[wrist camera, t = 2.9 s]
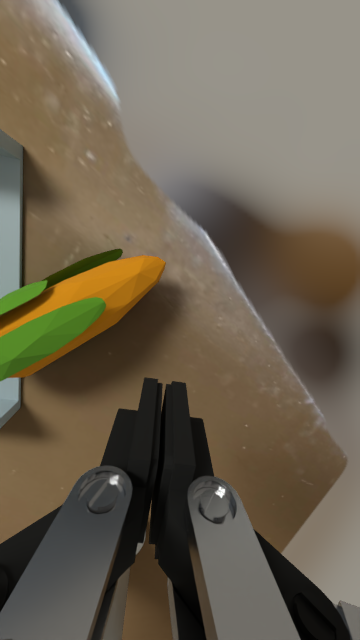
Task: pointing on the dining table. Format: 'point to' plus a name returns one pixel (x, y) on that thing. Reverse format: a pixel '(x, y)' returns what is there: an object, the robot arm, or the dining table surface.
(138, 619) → the dining table surface
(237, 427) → the dining table surface
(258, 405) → the dining table surface
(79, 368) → the dining table surface
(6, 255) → the tray
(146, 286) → the corn
